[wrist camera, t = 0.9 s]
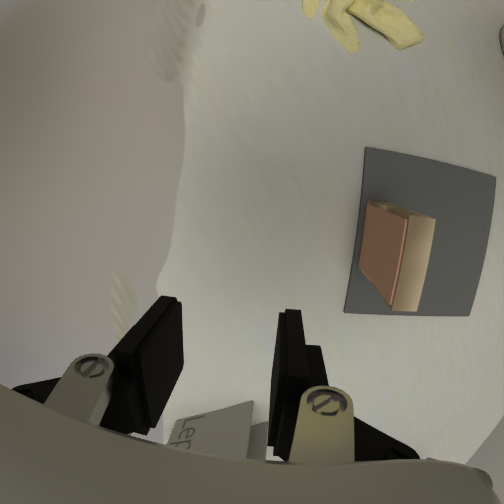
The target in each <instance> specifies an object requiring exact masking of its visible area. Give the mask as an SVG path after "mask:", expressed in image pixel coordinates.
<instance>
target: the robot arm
mask: <svg viewBox="0 0 504 504" xmlns="http://www.w3.org/2000/svg"><path fill="white" fill-rule="evenodd" d="M500 40H501V46H502V49H503V52H504V25H503V27H502V28H501V32H500ZM183 365H184V355H183V331H182V304H181V302H178V301H177V298H176V297H169V296H160V297H159V299H158V300H157V301H156V302H155V303H154V304H153V305H152V306H151V308H150V309H149V310H148V311H147V312H146V313H145V314H144V315H143V317H142V318H141V319H140V320H139V321H138V322H137V323H136V325H134V326H133V327H132V328H131V329H130V330H129V331H128V332H127V334H126V335H125V336H124V337H123V338H122V339H121V340H120V342H119V343H118V344H117V345H116V346H115V347H114V349H113V350H112V351H111V352H110V353H109V354H108V356H105V355H101V354H86V355H83V356H80V357H78V358H76V359H75V360H74V361H73V362H72V363H71V364H70V366H69V367H68V368H67V370H66V371H65V373H64V374H63V376H62V377H60V378H55V379H51V380H45V381H40V382H35V383H30V384H24V385H20V386H17V387H14V388H13V389H9V388H7V387H5V386H3V385H0V504H501V502H500V500H499V498H498V497H497V495H496V493H495V492H494V490H493V489H492V487H493V486H492V480H491V478H490V476H489V475H488V474H487V473H486V472H485V471H483V470H480V469H477V468H472V467H469V466H466V465H463V464H460V463H455V462H449V461H441V460H436V459H432V458H427V459H420V457H419V455H418V454H417V453H416V451H415V450H414V449H412V448H411V447H409V446H407V445H405V444H404V443H402V442H400V441H398V440H396V439H394V438H392V437H390V436H388V435H386V434H385V433H383V432H381V431H379V430H377V429H375V428H374V427H372V426H370V425H368V424H366V423H365V422H363V421H361V420H359V419H358V418H356V417H354V412H353V402H352V399H351V398H350V396H349V395H348V394H347V393H345V392H344V391H343V390H340V389H338V388H336V387H331V386H329V385H328V380H327V375H326V370H325V365H324V360H323V355H322V350H321V347H320V346H317V345H306V344H305V337H304V329H303V322H302V315H301V310H293V309H286V310H285V313H282V312H279V320H278V328H277V336H276V345H275V353H274V360H273V368H272V377H271V393H270V411H269V427H268V443H267V446H273V447H274V450H273V456H279V457H280V458H281V459H283V460H284V461H270V460H258V459H248V458H239V457H231V456H224V455H217V454H210V453H204V452H198V451H193V450H188V449H183V448H178V447H173V446H169V445H164V444H159V443H155V442H151V441H148V440H144V439H140V438H136V437H133V436H131V434H130V433H133V432H135V433H139V434H143V435H147V434H148V432H149V430H150V428H155V427H156V425H157V423H158V421H159V419H160V416H161V414H162V412H163V410H164V408H165V406H166V404H167V401H168V399H169V397H170V395H171V393H172V391H173V389H174V386H175V384H176V382H177V380H178V378H179V376H180V374H181V371H182V369H183Z"/></svg>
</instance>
